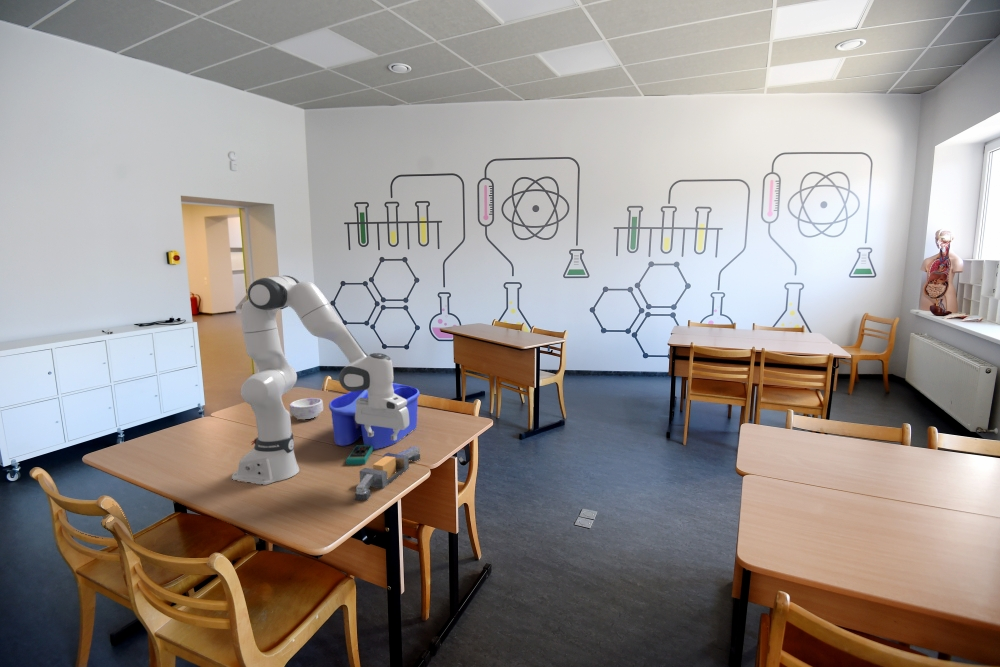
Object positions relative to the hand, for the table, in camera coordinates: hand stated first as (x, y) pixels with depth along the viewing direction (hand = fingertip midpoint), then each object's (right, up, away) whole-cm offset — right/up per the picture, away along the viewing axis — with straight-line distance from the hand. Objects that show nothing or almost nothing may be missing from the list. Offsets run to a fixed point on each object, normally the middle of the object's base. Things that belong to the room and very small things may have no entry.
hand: (382, 438), depth 177 cm
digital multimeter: (-13, -12, +20) cm, 27 cm away
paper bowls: (-53, -5, +70) cm, 88 cm away
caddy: (-13, -8, +46) cm, 48 cm away
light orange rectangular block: (+1, -14, +2) cm, 14 cm away
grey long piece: (+1, -14, +2) cm, 14 cm away
